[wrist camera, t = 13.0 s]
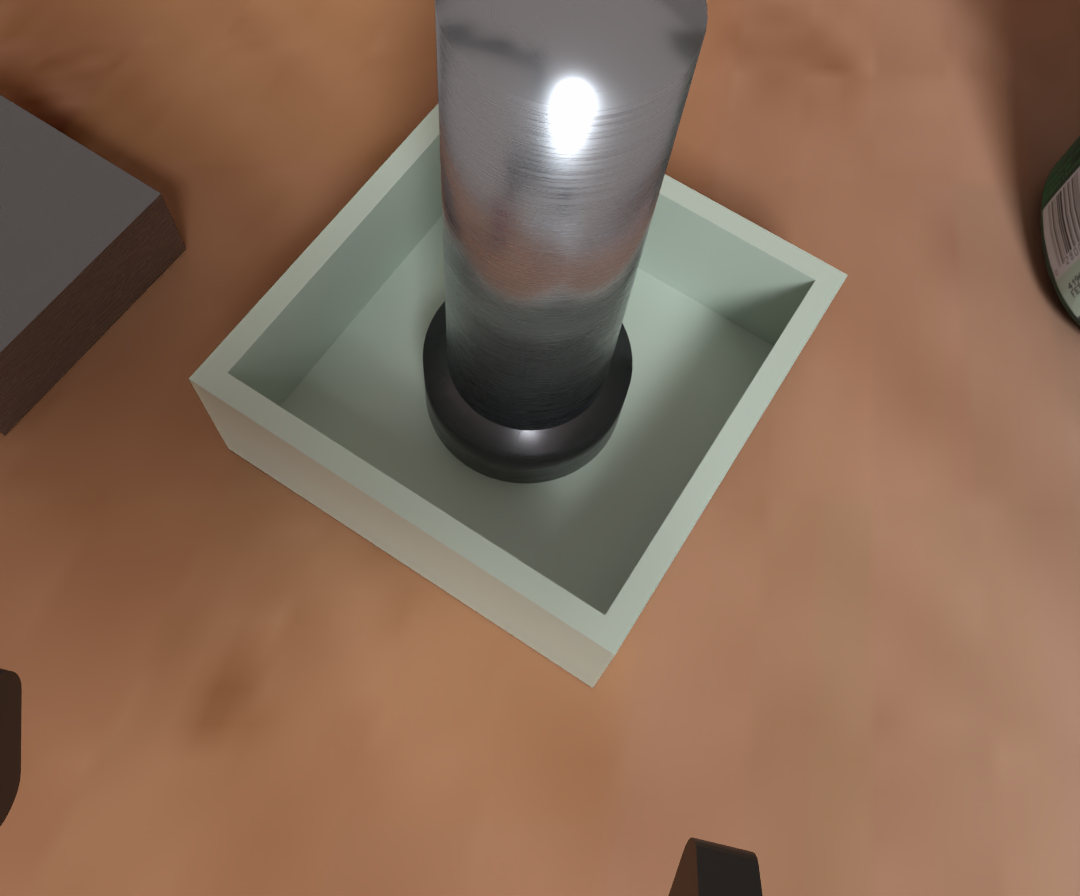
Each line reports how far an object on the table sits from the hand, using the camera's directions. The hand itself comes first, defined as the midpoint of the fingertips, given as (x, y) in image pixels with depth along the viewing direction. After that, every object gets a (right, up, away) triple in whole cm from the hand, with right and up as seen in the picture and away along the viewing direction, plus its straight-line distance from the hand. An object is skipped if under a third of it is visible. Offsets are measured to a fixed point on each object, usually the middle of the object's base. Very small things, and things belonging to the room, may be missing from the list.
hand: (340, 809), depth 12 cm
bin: (+2, +6, +15) cm, 17 cm away
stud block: (-13, +9, +16) cm, 22 cm away
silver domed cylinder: (+2, +6, +15) cm, 16 cm away
